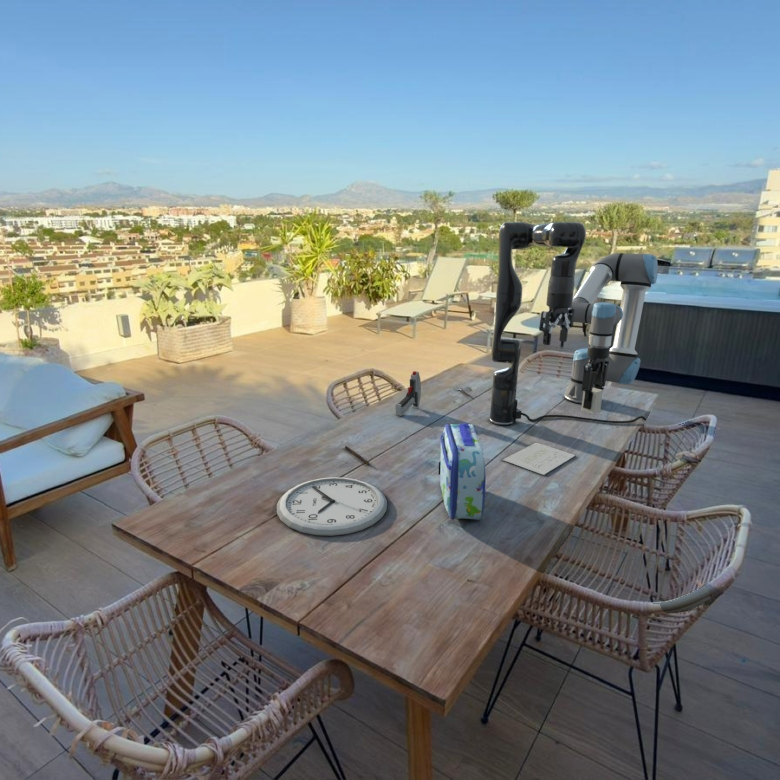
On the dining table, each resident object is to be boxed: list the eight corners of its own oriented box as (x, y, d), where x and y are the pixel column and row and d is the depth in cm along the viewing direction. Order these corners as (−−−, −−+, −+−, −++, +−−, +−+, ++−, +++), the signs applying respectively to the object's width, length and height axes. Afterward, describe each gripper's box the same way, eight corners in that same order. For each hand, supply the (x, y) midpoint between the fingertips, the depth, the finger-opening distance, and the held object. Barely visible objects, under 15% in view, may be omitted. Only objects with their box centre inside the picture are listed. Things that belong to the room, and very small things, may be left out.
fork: (466, 397, 235) (466, 393, 234) (453, 387, 250) (453, 383, 249) (471, 397, 236) (472, 392, 235) (458, 387, 250) (458, 383, 250)
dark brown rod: (344, 448, 179) (344, 445, 179) (346, 448, 179) (346, 445, 179) (367, 464, 167) (367, 462, 167) (368, 464, 167) (368, 461, 167)
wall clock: (392, 527, 129) (268, 531, 127) (391, 533, 130) (269, 537, 127) (383, 473, 158) (282, 475, 155) (383, 478, 158) (282, 480, 156)
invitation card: (535, 442, 186) (575, 454, 176) (535, 442, 187) (575, 455, 176) (502, 459, 172) (543, 474, 162) (502, 460, 172) (543, 475, 162)
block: (587, 408, 199) (590, 386, 197) (600, 411, 196) (603, 390, 193) (580, 410, 197) (583, 388, 194) (593, 414, 193) (596, 392, 190)
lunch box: (436, 479, 158) (439, 414, 152) (472, 480, 158) (476, 415, 152) (443, 526, 133) (448, 451, 127) (486, 527, 133) (492, 452, 127)
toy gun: (394, 379, 206) (416, 369, 217) (395, 417, 212) (416, 405, 223) (399, 380, 205) (420, 370, 216) (400, 418, 211) (421, 406, 222)
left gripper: (563, 288, 166) (558, 338, 171) (535, 291, 158) (530, 343, 162) (584, 290, 160) (578, 342, 165) (557, 293, 152) (551, 348, 157)
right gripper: (602, 341, 197) (594, 399, 204) (576, 347, 186) (568, 409, 193) (621, 344, 191) (612, 405, 198) (595, 351, 181) (586, 414, 188)
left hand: (554, 343), depth 164 cm, fingers open, 8 cm apart
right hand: (590, 406), depth 196 cm, fingers closed on block, 4 cm apart
